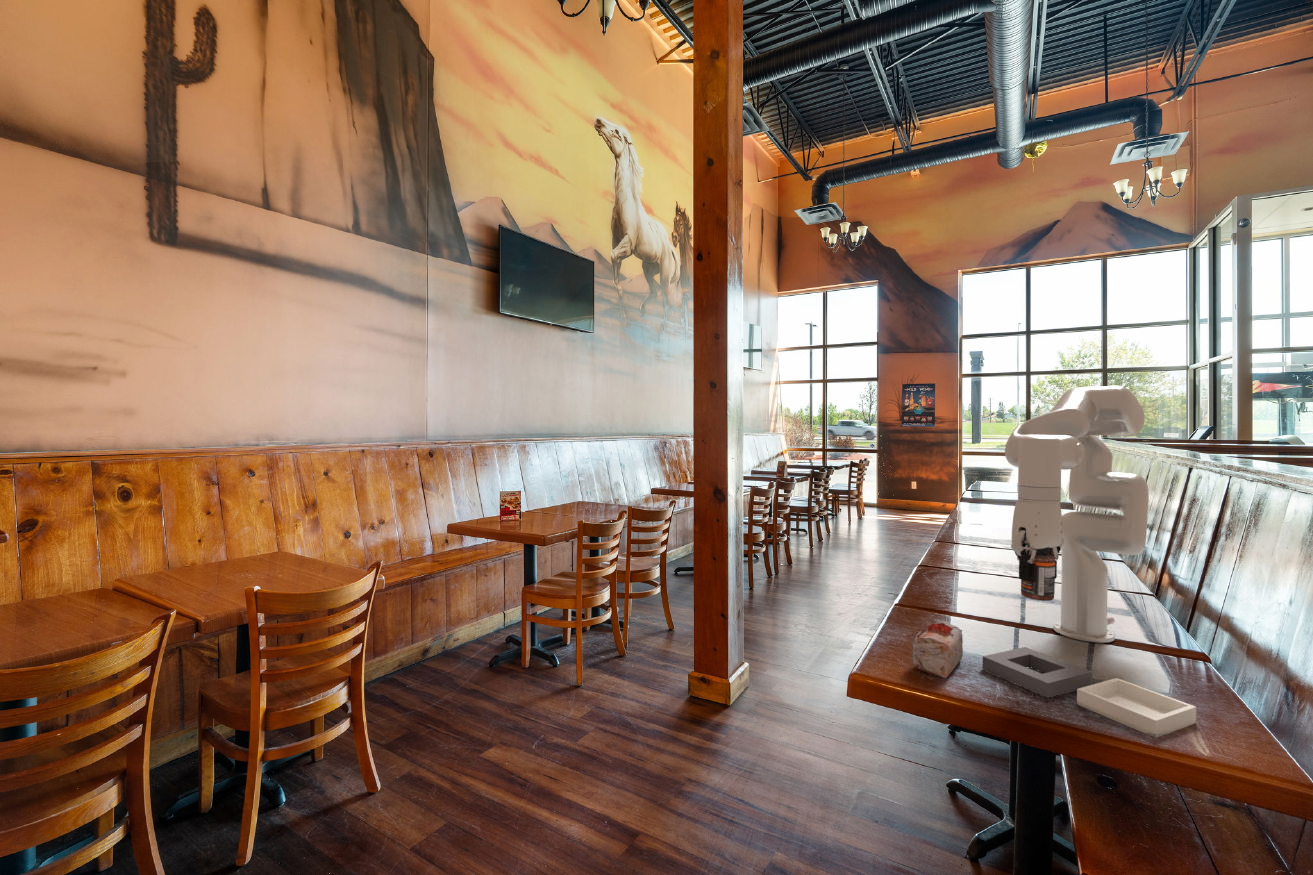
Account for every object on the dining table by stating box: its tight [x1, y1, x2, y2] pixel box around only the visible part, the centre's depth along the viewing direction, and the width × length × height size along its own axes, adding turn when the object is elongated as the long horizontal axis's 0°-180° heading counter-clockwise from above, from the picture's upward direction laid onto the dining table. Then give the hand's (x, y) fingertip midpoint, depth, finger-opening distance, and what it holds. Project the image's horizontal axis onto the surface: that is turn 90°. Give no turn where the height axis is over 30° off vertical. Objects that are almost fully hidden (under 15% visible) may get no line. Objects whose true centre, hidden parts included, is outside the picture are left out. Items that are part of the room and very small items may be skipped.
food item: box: [912, 620, 964, 679], centre depth 125 cm, size 14×8×10 cm, turn 139°
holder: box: [982, 646, 1093, 699], centre depth 120 cm, size 14×14×3 cm
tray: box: [1076, 677, 1197, 739], centre depth 105 cm, size 13×13×3 cm
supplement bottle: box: [1020, 545, 1056, 602], centre depth 119 cm, size 6×6×11 cm
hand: (1037, 578), depth 119 cm, fingers closed on supplement bottle, 6 cm apart
